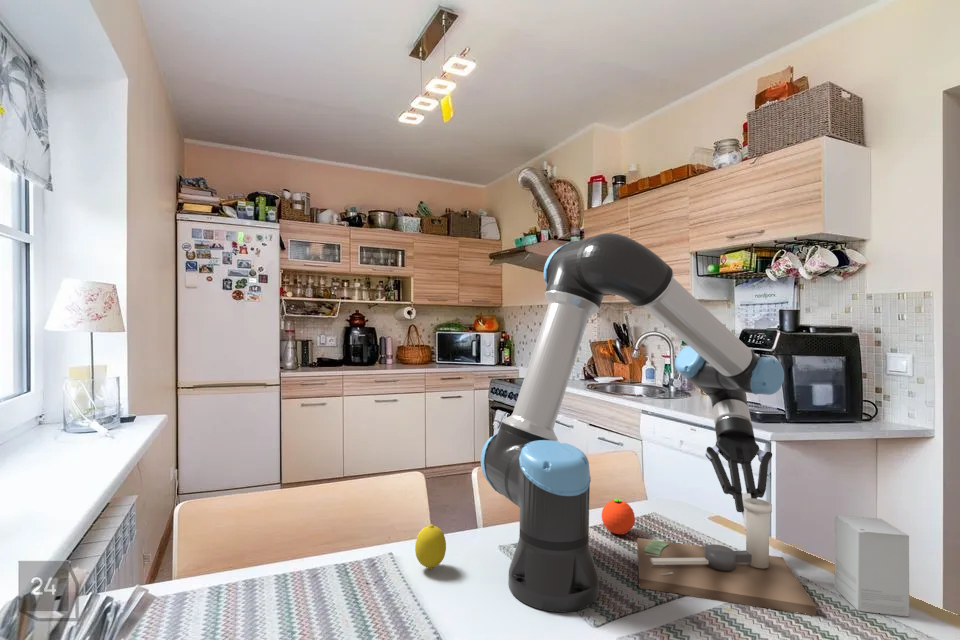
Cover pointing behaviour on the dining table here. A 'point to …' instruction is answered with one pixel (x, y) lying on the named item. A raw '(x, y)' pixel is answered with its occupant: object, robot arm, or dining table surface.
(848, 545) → the supplement box
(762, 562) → the knobbed stick and post
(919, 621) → the dining table surface
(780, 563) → the brown wooden board
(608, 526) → the clementine
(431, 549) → the lemon
